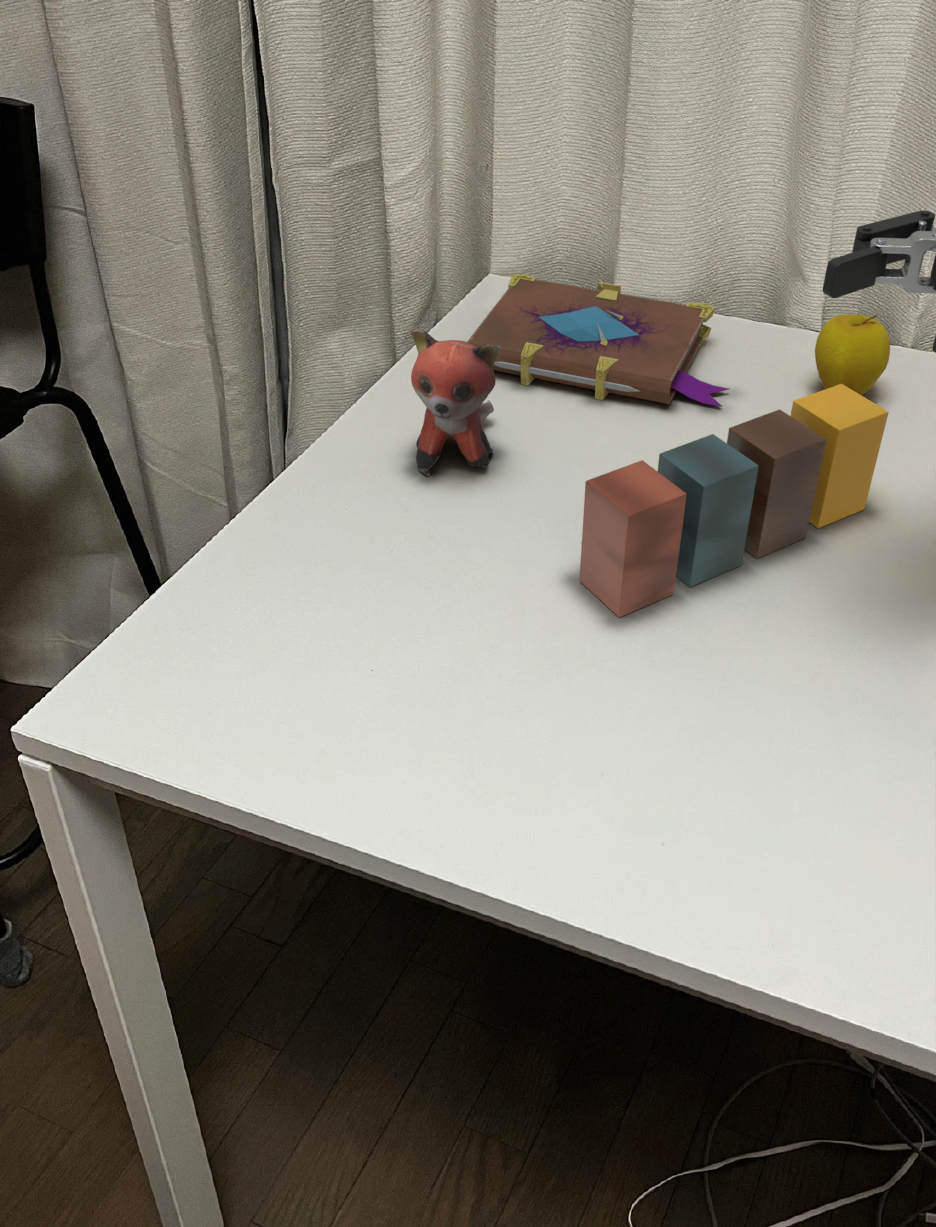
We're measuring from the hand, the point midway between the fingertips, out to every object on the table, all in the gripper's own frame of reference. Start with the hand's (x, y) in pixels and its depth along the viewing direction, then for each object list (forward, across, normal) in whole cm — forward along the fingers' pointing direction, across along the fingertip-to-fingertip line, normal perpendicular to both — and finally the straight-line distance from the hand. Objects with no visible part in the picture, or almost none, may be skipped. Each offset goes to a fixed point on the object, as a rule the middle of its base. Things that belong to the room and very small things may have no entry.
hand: (882, 308), depth 68 cm
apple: (-27, -23, +25) cm, 44 cm away
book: (-12, -40, +25) cm, 49 cm away
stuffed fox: (+8, -34, +25) cm, 43 cm away
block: (-12, -12, +25) cm, 30 cm away
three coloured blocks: (+1, -11, +25) cm, 27 cm away
